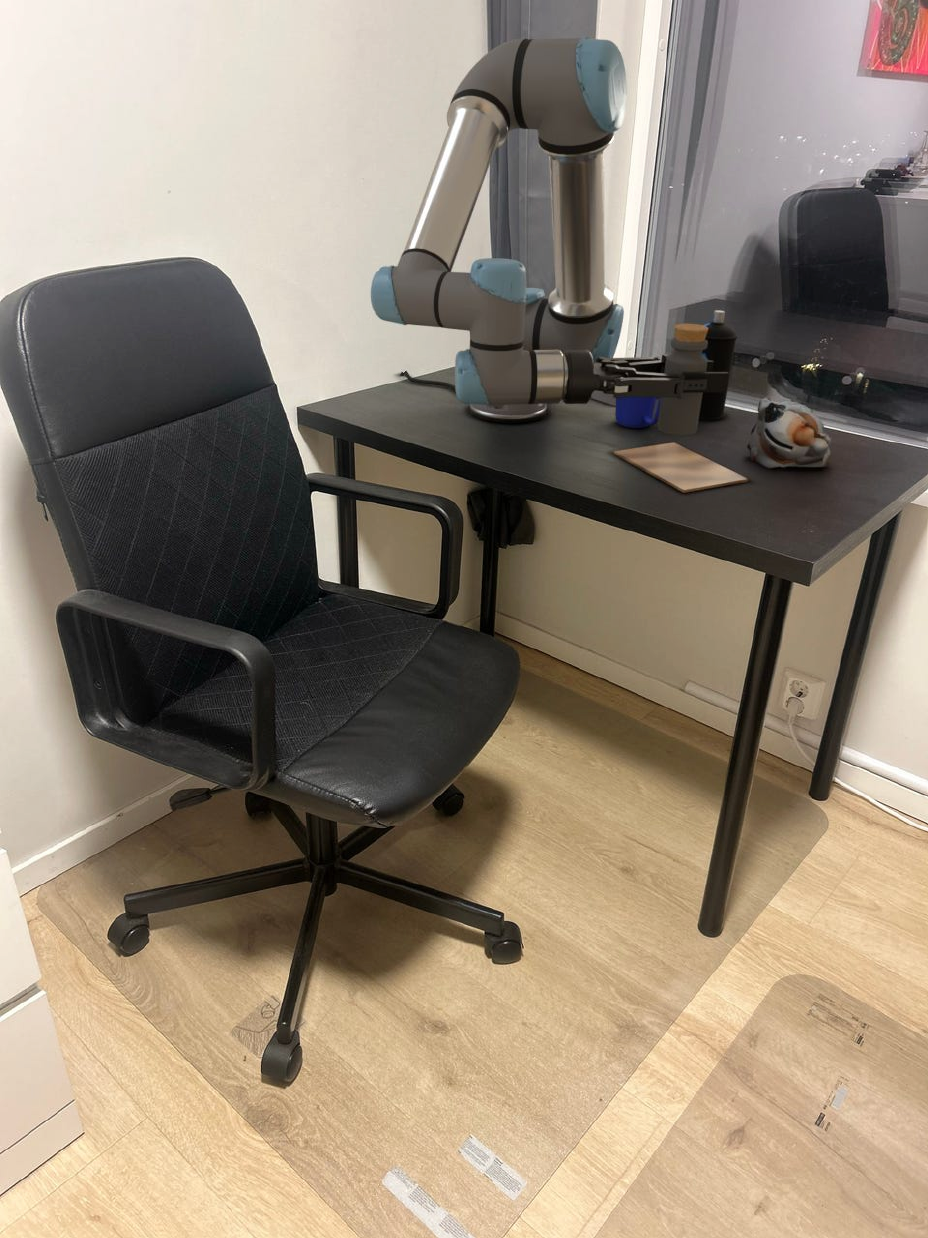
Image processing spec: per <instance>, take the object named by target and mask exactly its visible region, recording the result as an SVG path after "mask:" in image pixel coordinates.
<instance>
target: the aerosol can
mask: <svg viewBox="0 0 928 1238" xmlns="http://www.w3.org/2000/svg"><path fill="white" fill-rule="evenodd" d="M725 313H726V312H725V311H724V310H720V309H719V310H714V312H713V318H712V321H711V322H709V323H705V324H702V325H703V326H706V327H708V332H707V334H706V337H705V340H707V341H708V344H707V348H706V349H704V350H702V355H703V356H704V357H705V358H706V359H707V360H712V361H713V362H714V363H713V370H712V372H728V373H729V377H728V383H727V389H726V392H703V394H702V400H701V407H700V413H699V419H698V421H709V422H710V421H719V420H722V419H723V418H725V415H726V414H725V413H724V412H725V407H726V400H727V395H728V389H729V384H730V378H731V373H732V366H733V360H734V354H735V348H736V342H737V339H738V337H739V335H738V333H736V331H735V330H734V328H733V327H732V326H730V325H728V324H726V323H725V322H724V321H725V315H726V314H725Z"/></svg>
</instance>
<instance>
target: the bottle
mask: <svg viewBox="0 0 928 1238" xmlns="http://www.w3.org/2000/svg"><path fill="white" fill-rule="evenodd" d="M703 325H704V324H699V323H678V324H675V325H674V327H673V328H674V337H672V338H671V340H670V346H671V347H672V348H673V352H672V353H670V354H668V356H667V358H666V364H665V372H664V374H678V375H679V374H683V372H706V368H707V359H706V358H705V357H704V356H703V355H702V350H704V349H706V348H707V344H708V341H707V340H705V337H706V334H707V332H708V327H706V326H703ZM702 394H703V392H700V393H683V394H682V399H678V398H676V397H661V401H660V409H659V417H658V422H657V427H656V429H657V430H658V431H659V432H661V433H663V434H666V435H671V436H683V437H684V436H690V435H694V434H695V433H697V430H698V425H699V420H698V419H699V413H700V407H701V400H702Z"/></svg>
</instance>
